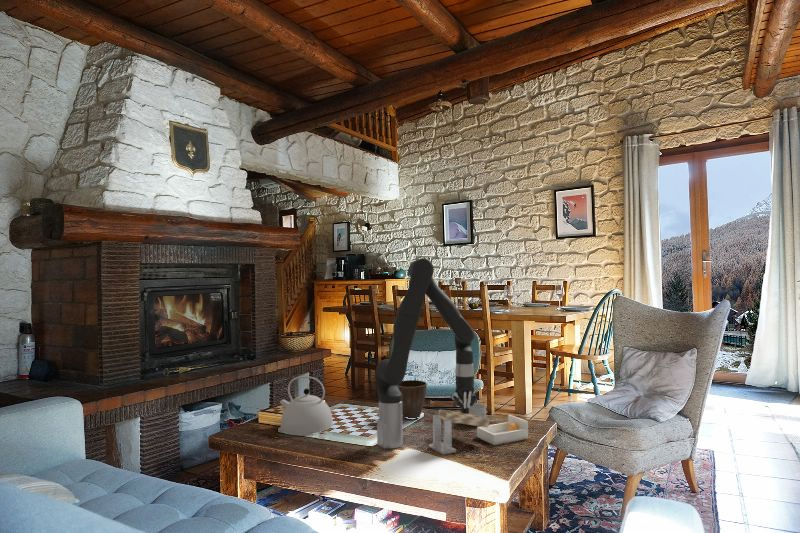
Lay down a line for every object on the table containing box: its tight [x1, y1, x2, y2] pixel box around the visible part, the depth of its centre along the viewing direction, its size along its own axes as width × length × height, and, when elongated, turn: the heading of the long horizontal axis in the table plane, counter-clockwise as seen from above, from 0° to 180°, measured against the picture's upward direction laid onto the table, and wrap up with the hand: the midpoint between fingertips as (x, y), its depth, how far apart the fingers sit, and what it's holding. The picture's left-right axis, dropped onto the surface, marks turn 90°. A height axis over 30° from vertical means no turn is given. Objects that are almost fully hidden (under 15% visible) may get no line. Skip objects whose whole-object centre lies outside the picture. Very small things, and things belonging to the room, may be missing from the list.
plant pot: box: [398, 379, 428, 418], centre depth 242 cm, size 15×15×16 cm
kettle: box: [279, 375, 334, 436], centre depth 229 cm, size 25×23×23 cm
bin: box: [476, 414, 529, 446], centre depth 211 cm, size 17×12×7 cm
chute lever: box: [437, 409, 490, 427], centre depth 207 cm, size 20×15×3 cm
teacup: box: [469, 402, 487, 419], centre depth 233 cm, size 14×11×8 cm
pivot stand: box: [428, 414, 457, 456], centre depth 198 cm, size 6×10×12 cm, turn 27°
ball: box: [508, 423, 518, 431], centre depth 213 cm, size 4×4×4 cm
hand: (465, 416), depth 212 cm, fingers closed
